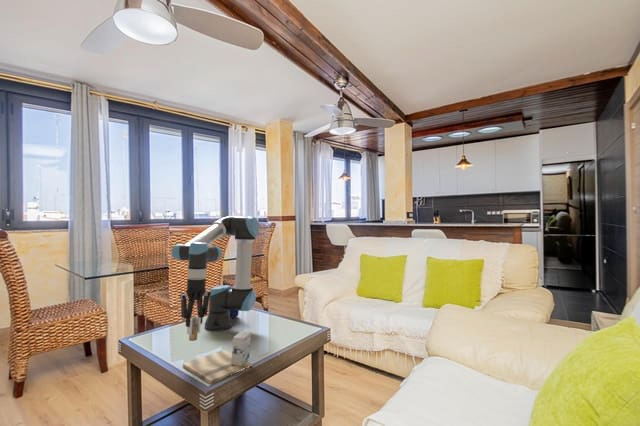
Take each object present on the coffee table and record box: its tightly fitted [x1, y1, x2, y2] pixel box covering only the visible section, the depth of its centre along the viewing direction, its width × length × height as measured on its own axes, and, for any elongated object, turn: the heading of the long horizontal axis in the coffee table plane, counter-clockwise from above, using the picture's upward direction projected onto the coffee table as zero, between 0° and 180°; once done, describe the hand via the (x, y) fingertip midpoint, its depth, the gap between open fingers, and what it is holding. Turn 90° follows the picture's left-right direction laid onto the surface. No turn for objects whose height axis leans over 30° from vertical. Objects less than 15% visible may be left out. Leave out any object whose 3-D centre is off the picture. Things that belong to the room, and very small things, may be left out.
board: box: [182, 349, 253, 384], centre depth 137 cm, size 20×21×1 cm
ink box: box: [231, 330, 252, 366], centre depth 140 cm, size 9×5×12 cm, turn 168°
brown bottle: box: [188, 317, 198, 342], centre depth 138 cm, size 3×3×9 cm
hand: (193, 332), depth 138 cm, fingers closed on brown bottle, 3 cm apart
